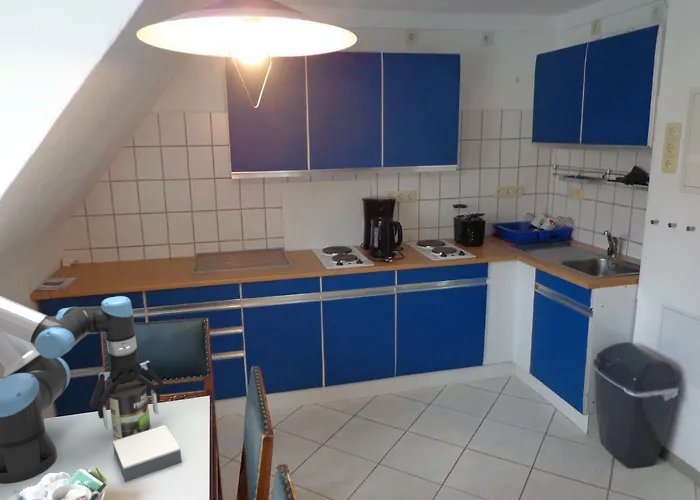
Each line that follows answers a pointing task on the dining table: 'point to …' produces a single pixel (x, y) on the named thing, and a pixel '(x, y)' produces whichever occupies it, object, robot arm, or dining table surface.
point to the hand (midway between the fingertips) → (131, 419)
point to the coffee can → (129, 409)
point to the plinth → (146, 452)
